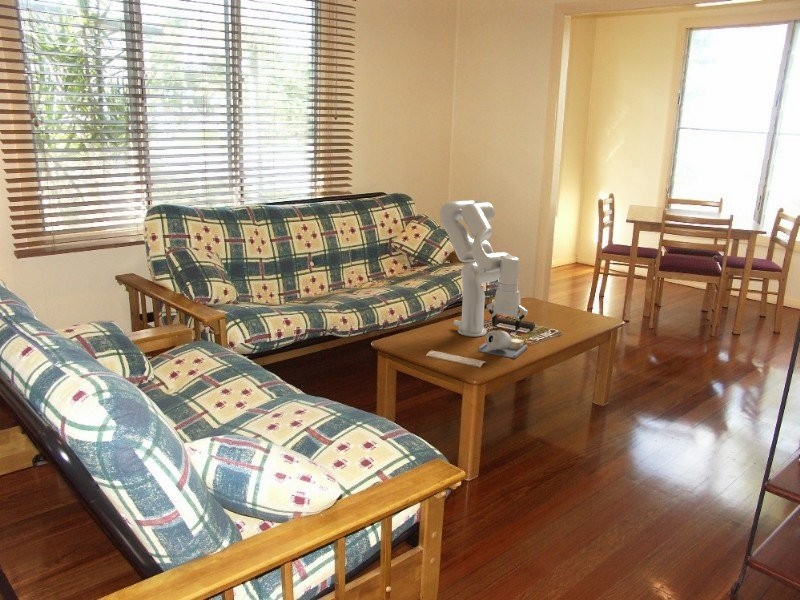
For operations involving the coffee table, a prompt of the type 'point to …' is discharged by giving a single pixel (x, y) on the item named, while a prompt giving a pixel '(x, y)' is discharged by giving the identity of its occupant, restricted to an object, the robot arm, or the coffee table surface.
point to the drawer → (503, 351)
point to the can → (498, 340)
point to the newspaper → (455, 358)
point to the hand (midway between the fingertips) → (506, 327)
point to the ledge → (516, 344)
